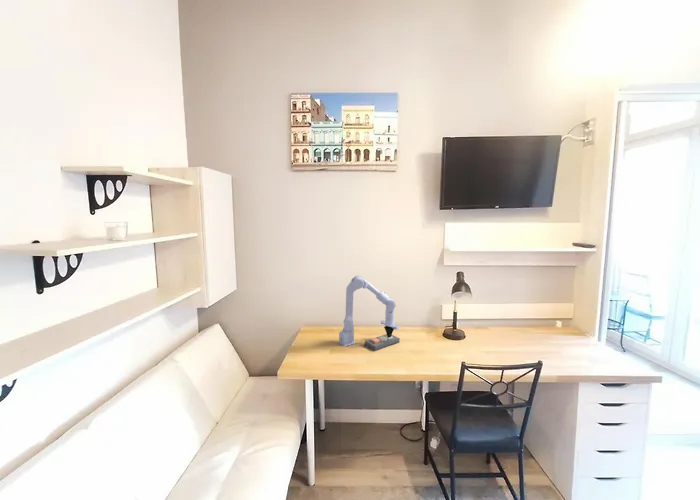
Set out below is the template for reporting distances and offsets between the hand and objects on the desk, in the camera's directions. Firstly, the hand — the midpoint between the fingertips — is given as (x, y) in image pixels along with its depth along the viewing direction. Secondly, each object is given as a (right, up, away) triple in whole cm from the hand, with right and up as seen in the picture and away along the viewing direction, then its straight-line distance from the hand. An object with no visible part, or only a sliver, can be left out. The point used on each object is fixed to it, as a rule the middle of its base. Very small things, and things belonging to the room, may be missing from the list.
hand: (389, 337), depth 216 cm
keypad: (-5, -4, -3) cm, 7 cm away
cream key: (-5, -1, -4) cm, 6 cm away
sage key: (0, -2, 0) cm, 2 cm away
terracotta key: (-10, -1, -7) cm, 12 cm away
